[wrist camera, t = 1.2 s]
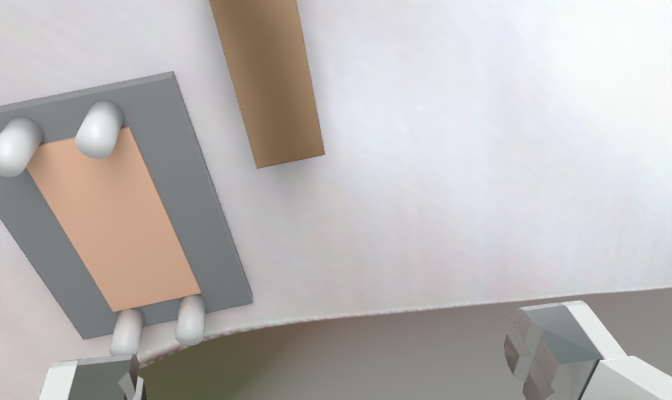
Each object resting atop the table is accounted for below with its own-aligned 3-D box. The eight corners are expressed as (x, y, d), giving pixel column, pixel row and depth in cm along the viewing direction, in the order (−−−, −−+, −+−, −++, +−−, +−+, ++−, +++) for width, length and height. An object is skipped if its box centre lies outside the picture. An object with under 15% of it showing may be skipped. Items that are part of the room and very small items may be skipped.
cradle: (173, 71, 32) (165, 103, 29) (252, 294, 44) (253, 336, 41) (-57, 117, 32) (-94, 155, 28) (86, 330, 44) (72, 376, 40)
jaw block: (278, -71, 29) (286, -49, 24) (313, 109, 35) (325, 154, 31) (206, -57, 29) (200, -32, 24) (254, 121, 35) (257, 168, 30)
